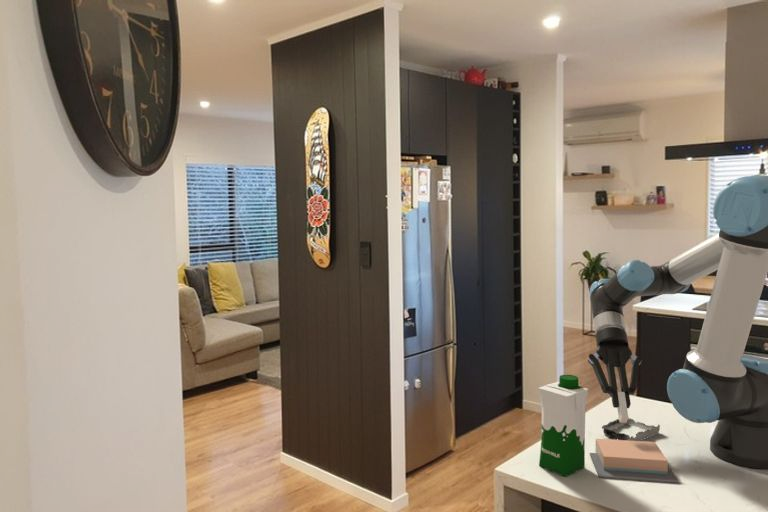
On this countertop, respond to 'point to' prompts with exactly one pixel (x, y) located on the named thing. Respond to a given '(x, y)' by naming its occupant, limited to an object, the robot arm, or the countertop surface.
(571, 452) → the milk carton
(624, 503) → the countertop surface
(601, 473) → the rubber mat
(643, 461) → the terracotta tile
